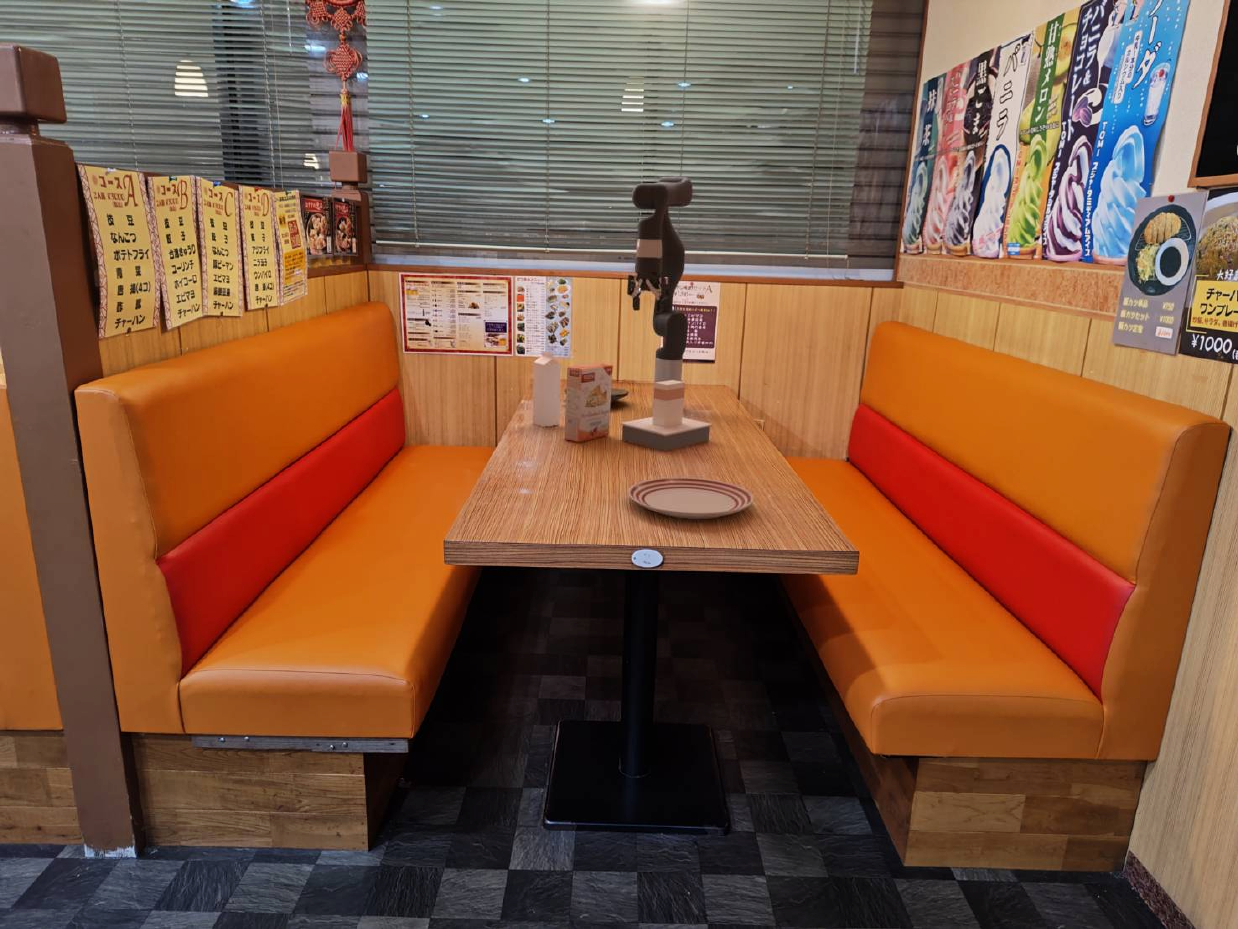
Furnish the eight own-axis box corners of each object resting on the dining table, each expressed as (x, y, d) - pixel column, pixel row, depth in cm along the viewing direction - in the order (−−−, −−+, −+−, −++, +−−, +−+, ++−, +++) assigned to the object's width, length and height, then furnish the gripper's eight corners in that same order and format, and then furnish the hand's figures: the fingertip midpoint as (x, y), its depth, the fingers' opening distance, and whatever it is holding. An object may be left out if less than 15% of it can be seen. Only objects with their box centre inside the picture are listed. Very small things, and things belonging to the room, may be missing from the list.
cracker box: (579, 443, 229) (582, 369, 223) (563, 439, 232) (565, 366, 227) (610, 435, 240) (613, 364, 234) (594, 432, 243) (597, 361, 238)
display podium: (666, 430, 250) (667, 413, 249) (711, 440, 239) (712, 424, 238) (619, 439, 235) (620, 422, 234) (664, 452, 224) (665, 434, 223)
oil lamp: (561, 409, 273) (562, 386, 271) (566, 392, 302) (566, 372, 300) (628, 412, 274) (629, 389, 272) (626, 395, 303) (627, 374, 301)
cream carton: (652, 424, 234) (654, 382, 231) (670, 420, 240) (672, 379, 237) (664, 427, 231) (666, 385, 228) (682, 423, 237) (685, 382, 234)
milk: (542, 427, 247) (543, 354, 241) (532, 423, 251) (533, 351, 245) (559, 425, 250) (561, 353, 244) (549, 421, 255) (550, 350, 249)
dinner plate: (601, 502, 180) (601, 488, 179) (683, 481, 199) (684, 468, 198) (696, 538, 161) (698, 522, 160) (777, 510, 180) (779, 496, 179)
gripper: (622, 254, 241) (621, 310, 246) (660, 256, 232) (658, 314, 237) (638, 254, 247) (637, 308, 251) (676, 256, 238) (674, 312, 242)
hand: (647, 311), depth 244 cm, fingers open, 8 cm apart
